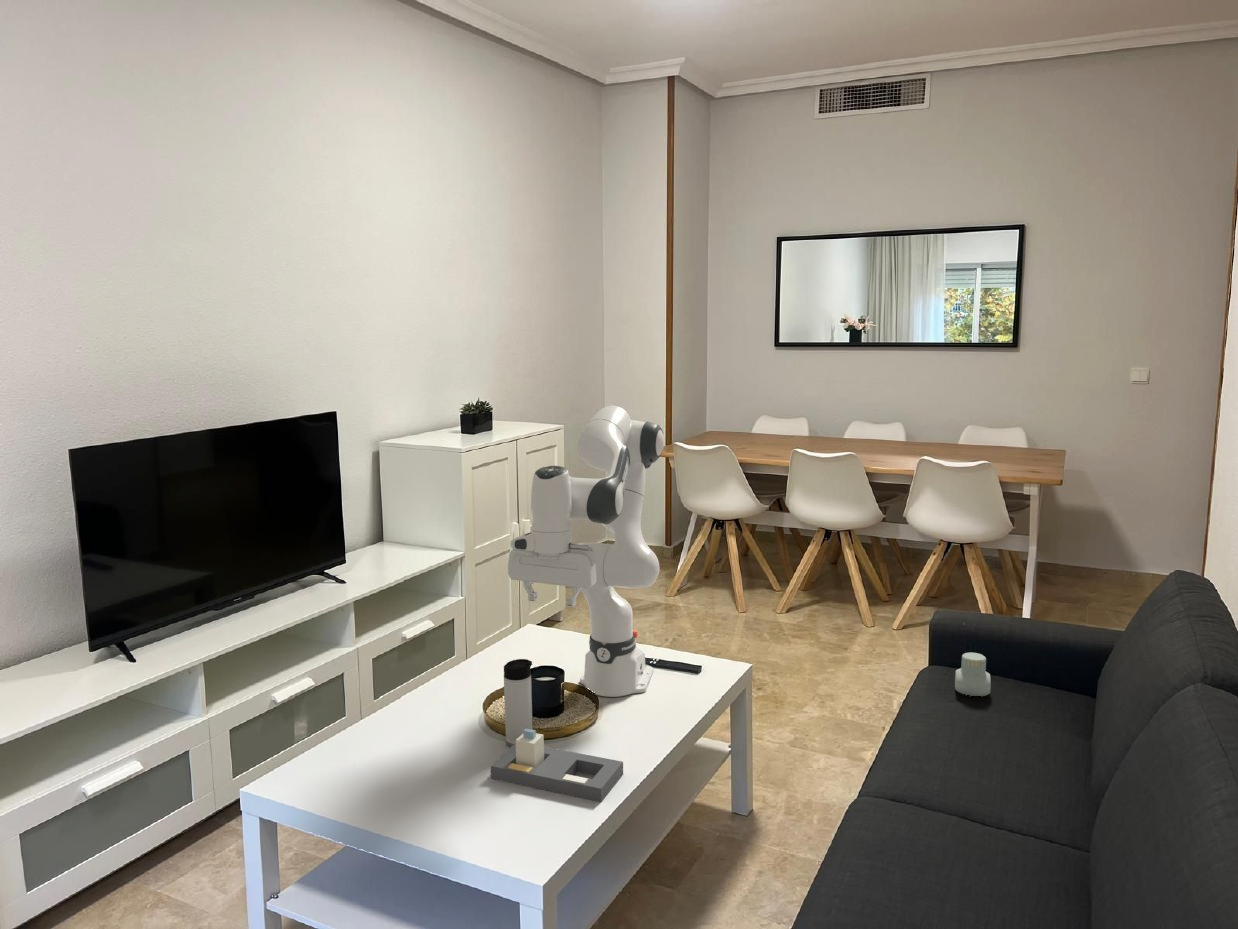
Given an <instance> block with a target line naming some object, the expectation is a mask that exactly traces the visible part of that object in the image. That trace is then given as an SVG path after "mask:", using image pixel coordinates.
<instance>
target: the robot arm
mask: <svg viewBox="0 0 1238 929" xmlns="http://www.w3.org/2000/svg"><path fill="white" fill-rule="evenodd" d="M664 448H665V436H664V431H663V429H662V428H661V426H660V424H657V423H656V422H651V421H646V422H645V421H642V420H635V419H632V418H631V417H630V415H629V413H628V412H627V411H626V409H624V408H623V407H620V406H617V405H614V404H613V405H612V404H611V405H607V406H604V407H603V408H601V409H599V410H598V411H597V412H596V413H595V414H593V416H592V417H591V418H590V419H589V420H588V421H587V423H586V424H585V425H584V427H583V429H582V430H581V432H580V434H579V435H578V440H577V450H578V453H579V456H580V457H581V459H582V461H583V462H584V463H585V464H586V465H587V466H589V467H590V468H592V469H595V470H597V471H603V472H606V473H607V474H606V476H605V477H602V478H601V477H600V478H589V477H587V478H586V477H576V476H570V473H569V470H568V468H566V467H564V466H562V465H561V466H560V465H548V466H543V467H540V468H538V469H537V470H536V471H534V473H533V477H532V482H531V483H532V484H531V491H530V492H531V494H530V510H531V514H532V522H531V528H530V531H531V532H528V533H525V534H522V535H518V536H517V537H515V538H513V539H511V540H510V548H511V549H512V550H510V552H509V554H508V559H507V560H508V562H507V575H508V577H509V578H510V580H512V581H521V582H523V583H522V586H523V588H524V590H525V591H526V593H527V594H528V596H527V600H528V602H537V601H538V591H535V590H534V587H533V584H535V583H536V584H537V583H538V584H544V585H546V584H547V585H552V586H553V585H554V586H560V587H569V588H571V590H570V591H571V592H573V593H572V594H571V596H568V597H567V598H566V606H567V607H576V605H577V597H578V596H579V593H580V592H582V594H583V596H584V597H585V599H586V602H587V606H588V608H589V618H590V619H589V620H590V634H589V641H588V644H589V650H588V651H587V652H586V653H585V655H584V657H585V659H584V674H583V675H582V676H581V677H579V682H580V683H581V684H582V685H584V687H585V689H586V688H589V689H590V690H591V691H593V692H595V693H596V694H595V695H596V696H601V697H607V698H608V697H609V698H610V697H614V698H615V697H616V698H617V697H625V696H628V695H629V696H630V695H632V694H639V693H640V694H641V693H645V692H646V691H647V689H648V687H649V684H650V681H651V680H652V677H653V674H654V671H655V670H654V667H652V666H651V665H648V664H646V654H645V652H644V651H643V650H642V649H641V648H639V647H638V646H637V644H636V642H637V641H636V639H637V638H638V636H639V631H638V630H634V629H633V625H634V624H633V622H634V621H633V620H634V618H633V617H634V616H633V614H634V613H633V609H632V606H631V604H630V603H629V602H628V600H626V599H625V598H624V597H621V596H620V595H619V594H618V593H617V591H616V589H615V588H623V589H631V590H633V589H644V588H650V587H651V586H653V584H654V583H655V582H656V581H657V579H658V577H659V574H660V561H659V559H658V557H657V555H656V553H655V552H654V551H653V550H652V549H651V548H650V547H649V546H648V544H647V543H646V541H645V539H644V536H643V532H642V525H641V524H642V523H641V522H642V515H643V514H642V513H643V506H644V499H645V495H646V494H645V493H646V481H647V479H646V477H647V472H646V471H647V469H649V468H650V467H651V466H652V464H654V463H656V462H657V461H658V459H659V458H660V457H661V456H662V453H663V451H664ZM571 521H578V522H593V523H596V524H601V525H602V526H603V527H604V528H605V529H607V530H608V531H609V532H610V533H612V534H614V542H613V543H602V542H592V541H588V542H587V541H586V542H579V543H573V526H572V522H571Z"/></svg>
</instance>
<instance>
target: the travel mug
mask: <svg viewBox="0 0 1238 929" xmlns="http://www.w3.org/2000/svg"><path fill="white" fill-rule="evenodd" d="M532 665H533V661H531V660H530V659H527V658H518V659H512V660H509V661H508V662H506V664H504V666H503V692H504V693H503V695H504V727H505V744H506V745H507V747H509V748H510V747H512V746H513V745H514V744H515V743H516V739H517V738H519V737H520V736H521V735H522V734H523V731H524V730H525V729H532V730H533V704H532V699H533V698H532V674H531V666H532Z"/></svg>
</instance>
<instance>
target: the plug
mask: <svg viewBox="0 0 1238 929" xmlns="http://www.w3.org/2000/svg"><path fill="white" fill-rule="evenodd" d="M544 736H545V735H544V734H541V733H537V731H536V730H535V729H533V728H532V729H525V730H524V731H523V734H522V735H521V736H520V737H519V738H517V739H516V764H519V765H524V766H529V767H534V768H537V767H538V766H539V765H540V764H541V763H542V762H543V761H544V747H545V742H544V738H545V737H544Z"/></svg>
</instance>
